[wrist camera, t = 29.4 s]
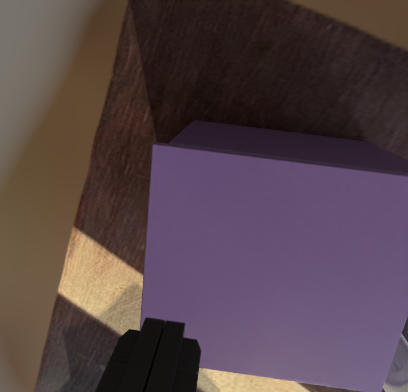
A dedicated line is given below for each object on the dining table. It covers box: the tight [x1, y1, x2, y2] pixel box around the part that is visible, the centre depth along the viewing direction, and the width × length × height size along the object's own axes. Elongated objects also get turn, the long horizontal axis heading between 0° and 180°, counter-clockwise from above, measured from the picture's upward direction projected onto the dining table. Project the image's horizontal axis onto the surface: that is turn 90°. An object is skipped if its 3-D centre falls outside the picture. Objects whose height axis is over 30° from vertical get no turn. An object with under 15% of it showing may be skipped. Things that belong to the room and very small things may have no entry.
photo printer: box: [383, 333, 408, 392], centre depth 36 cm, size 10×4×12 cm, turn 33°
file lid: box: [140, 142, 408, 392], centre depth 25 cm, size 18×17×1 cm
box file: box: [169, 120, 408, 174], centre depth 32 cm, size 18×17×14 cm
